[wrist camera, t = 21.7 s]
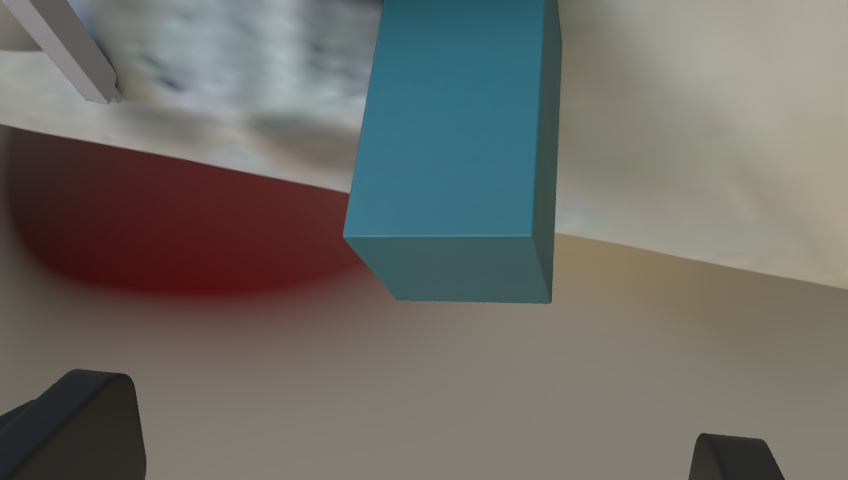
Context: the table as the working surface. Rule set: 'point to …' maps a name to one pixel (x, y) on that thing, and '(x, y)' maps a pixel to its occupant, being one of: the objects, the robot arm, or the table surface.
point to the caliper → (68, 47)
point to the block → (460, 151)
